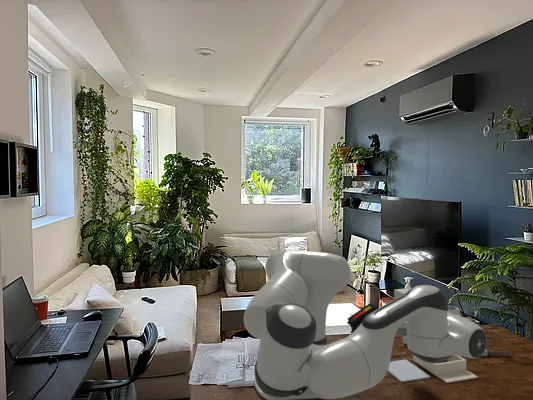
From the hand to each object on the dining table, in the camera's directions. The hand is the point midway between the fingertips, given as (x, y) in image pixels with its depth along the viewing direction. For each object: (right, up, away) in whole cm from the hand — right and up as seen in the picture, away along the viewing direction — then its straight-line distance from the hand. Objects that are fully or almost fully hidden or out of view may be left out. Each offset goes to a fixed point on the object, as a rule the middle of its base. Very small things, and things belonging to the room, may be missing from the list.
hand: (404, 307), depth 121 cm
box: (0, -8, -1) cm, 8 cm away
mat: (0, -20, 0) cm, 20 cm away
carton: (+13, -20, +2) cm, 24 cm away
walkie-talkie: (+30, -20, +15) cm, 39 cm away
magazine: (-7, -20, +19) cm, 28 cm away
